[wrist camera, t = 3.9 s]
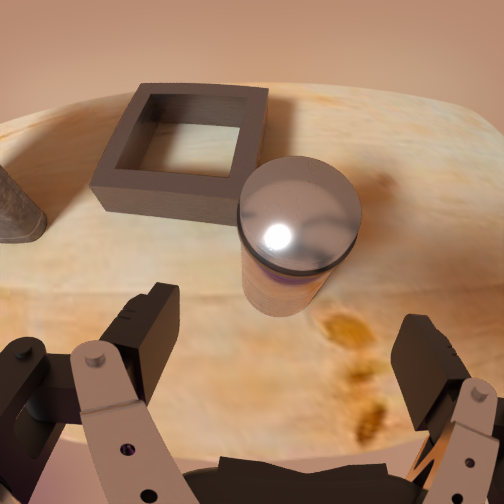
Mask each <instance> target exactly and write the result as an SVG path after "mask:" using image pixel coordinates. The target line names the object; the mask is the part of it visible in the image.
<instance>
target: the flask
mask: <svg viewBox="0 0 504 504" xmlns="http://www.w3.org/2000/svg"><path fill="white" fill-rule="evenodd" d="M46 225H47V218H46V215H45V214H44V213H43V212H42V211H41V210H40V209H39V208H38V207H37V206H36V205H35V203H34V202H33V201H32V200H31V199H30V198H29V197H28V196H27V195H26V194H25V193H24V192H23V190H22V189H21V188H20V187H19V186H18V185H17V184H16V183H15V181H14V180H13V179H12V178H11V177H10V176H9V175H8V173H7V172H6V171H5V170H4V169H3V168H2V166H1V165H0V243H12V244H14V243H28V242H33V241H36V240H37V239H38V238H39V237H40V236H41V235H42V234H43V232H44V231H45V228H46Z"/></svg>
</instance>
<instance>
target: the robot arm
mask: <svg viewBox="0 0 504 504" xmlns="http://www.w3.org/2000/svg"><path fill="white" fill-rule="evenodd" d="M179 326H180V292H179V286H178V285H172V284H165V283H159V282H157V283H156V284H155V285H154V286H153V288H152V289H151V291H150V292H149V293H148V295H145V294H139V295H137V296H136V297H134V298H132V299H130V300H129V301H128V302H127V304H126V305H125V306H124V308H123V310H121V311H120V313H119V314H118V315H117V317H116V318H115V319H114V320H113V322H112V323H111V324H110V326H109V327H108V328H107V330H106V331H105V332H104V333H103V335H102V336H101V337H100V339H99V340H94V341H88V342H85V343H82V344H80V345H79V346H77V347H76V348H75V349H74V350H73V352H72V353H71V354H50V353H47V352H46V348H45V345H44V344H43V342H42V341H41V340H39V339H37V338H34V337H22V338H18V339H16V340H14V341H12V342H10V343H9V344H8V345H7V346H6V347H5V348H4V349H3V351H2V352H1V353H0V504H28V502H29V500H30V497H31V496H32V493H33V491H34V489H35V487H36V484H37V482H38V480H39V478H40V475H41V473H42V471H43V469H44V467H45V465H46V463H47V461H48V459H49V457H50V455H51V452H52V451H53V449H54V447H55V444H56V443H57V441H58V439H59V437H60V435H61V433H62V431H63V429H64V427H65V425H66V424H79V425H83V428H84V432H85V436H86V439H87V443H88V446H89V449H90V452H91V455H92V459H93V462H94V464H95V468H96V471H97V474H98V476H99V479H100V482H101V485H102V488H103V490H104V493H105V495H106V498H107V500H108V503H109V504H485V501H486V497H487V499H488V503H489V504H504V398H500V397H497V393H496V391H495V390H494V388H493V387H492V386H491V385H490V384H489V383H487V382H486V381H484V380H481V379H478V378H472V377H471V376H470V374H469V372H468V371H467V369H466V367H465V366H464V364H463V363H462V361H461V359H460V358H459V356H457V353H456V351H455V350H454V348H452V345H451V343H450V342H449V340H448V339H447V337H446V336H444V335H443V334H442V333H441V332H440V331H439V330H437V329H436V328H435V326H434V325H433V323H432V322H431V320H430V319H429V317H428V316H427V315H417V314H407V315H406V316H405V318H404V320H403V323H402V325H401V328H400V330H399V333H398V336H397V338H396V341H395V343H394V345H393V348H392V351H391V365H392V368H393V370H394V373H395V376H396V378H397V381H398V384H399V386H400V389H401V392H402V395H403V397H404V400H405V403H406V406H407V409H408V412H409V415H410V417H411V420H412V423H413V426H414V429H415V431H425V430H428V431H429V433H430V434H429V435H428V436H427V438H426V439H425V441H424V443H423V445H422V447H421V449H420V451H419V453H418V455H417V457H416V459H415V461H414V463H413V466H412V467H411V469H410V471H409V473H408V475H407V476H406V478H405V479H403V478H400V477H397V476H393V475H389V474H388V471H387V467H386V464H385V463H383V464H366V465H347V466H343V467H339V468H334V469H330V470H325V471H321V472H316V473H310V474H308V473H307V474H306V473H301V472H297V471H294V470H290V469H286V468H283V467H279V466H276V465H272V464H269V463H266V462H260V461H251V460H243V459H235V458H228V457H222V456H220V460H219V465H218V467H213V468H204V469H198V470H194V471H189V472H187V473H184V474H181V472H180V470H179V469H178V467H177V465H176V464H175V462H174V460H173V458H172V456H171V454H170V453H169V451H168V449H167V447H166V445H165V443H164V441H163V439H162V437H161V436H160V434H159V432H158V430H157V428H156V426H155V424H154V422H153V420H152V417H151V415H150V413H149V411H148V409H147V406H148V404H149V401H150V399H151V397H152V395H153V392H154V390H155V388H156V385H157V383H158V381H159V379H160V376H161V374H162V372H163V370H164V367H165V365H166V363H167V361H168V358H169V356H170V354H171V352H172V350H173V347H174V345H175V343H176V341H177V338H178V333H179ZM23 407H24V408H23ZM21 410H22V411H21ZM19 413H20V414H19ZM17 416H18V417H17ZM16 418H17V419H16Z"/></svg>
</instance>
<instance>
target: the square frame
mask: <svg viewBox="0 0 504 504" xmlns="http://www.w3.org/2000/svg"><path fill="white" fill-rule="evenodd" d="M268 92H269V88H259V87H249V86H236V85H221V84H200V83H197V84H196V83H141V84H140V86H139V88H138V89H137V91H136V93H135V94H134V96H133V98H132V100H131V101H130V103H129V105H128V107H127V108H126V110H125V112H124V114H123V116H122V118H121V119H120V121H119V123H118V125H117V127H116V129H115V131H114V133H113V135H112V137H111V139H110V141H109V143H108V145H107V147H106V149H105V151H104V153H103V155H102V157H101V160H100V162H99V164H98V166H97V168H96V170H95V173H94V175H93V177H92V179H91V182H90V184H89V187H90V188H91V190H92V191H93V193H94V194H95V196H96V197H97V199H98V200H99V202H100V203H101V205H102V206H103V207H104V209H105V210H106V211H109V212H119V213H128V214H137V215H146V216H155V217H164V218H172V219H181V220H189V221H197V222H206V223H214V224H222V225H230V226H237V206H238V203H239V199H240V197H241V192H242V189H243V187H244V184H245V182H246V181H247V179H248V178H249V176H250V175H251V174H252V173H253V172H254V171H255V170H256V169H257V168H258V167H259V161H260V155H261V149H262V143H263V137H264V131H265V125H266V119H267V106H268ZM158 123H185V124H202V125H217V126H229V127H240V131H239V135H238V139H237V144H236V148H235V153H234V157H233V161H232V166H231V170H230V175H229V178H223V177H213V176H203V175H192V174H181V173H169V172H156V171H141V170H139V168H140V165H141V163H142V160H143V158H144V155H145V153H146V151H147V148H148V146H149V143H150V141H151V139H152V136H153V134H154V132H155V129H156V127H157V125H158Z"/></svg>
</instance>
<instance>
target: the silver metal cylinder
mask: <svg viewBox="0 0 504 504" xmlns="http://www.w3.org/2000/svg"><path fill="white" fill-rule="evenodd" d="M361 216H362V212H361V204H360V200H359V198H358V195H357V193H356V191H355V189H354V187H353V186H352V184H351V183H350V182H349V180H348V179H347V178H346V177H345V176H344V175H343V174H342V173H341V172H339V171H338V170H337V169H335V168H334V167H332V166H330V165H329V164H327V163H325V162H322V161H320V160H317V159H314V158H309V157H303V156H287V157H281V158H277V159H274V160H271V161H269V162H267V163H265V164H263V165H261V166H260V167H258V168H257V169H256V170H255V171H254V172H253V173H252V174H251V175H250V176H249V178H248V179H247V181H246V182H245V184H244V187H243V189H242V192H241V197H240V199H239V203H238V206H237V230H238V235H239V238H240V241H241V256H242V284H243V290H244V293H245V295H246V297H247V299H248V301H249V302H250V303H251V304H252V306H253V307H255V308H256V309H257V310H259V311H260V312H262V313H264V314H266V315H269V316H274V317H286V316H291V315H294V314H296V313H298V312H300V311H301V310H303V309H304V308H305V307H306V306H307V305H308V304H309V302H310V301H311V300H312V298H313V297H314V295H315V294H316V293H317V291H318V290H319V289H320V287H321V286H322V284H323V283H324V282H325V280H326V279H327V277H328V276H329V275H330V273H331V272H332V270H333V269H335V268H336V267H338V266H339V265H340V264H341V263H342V262H343V260H344V259H345V258H346V257H347V255H348V254H349V252H350V251H351V249H352V248H353V246H354V244H355V241H356V238H357V234H358V231H359V228H360V224H361Z"/></svg>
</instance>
